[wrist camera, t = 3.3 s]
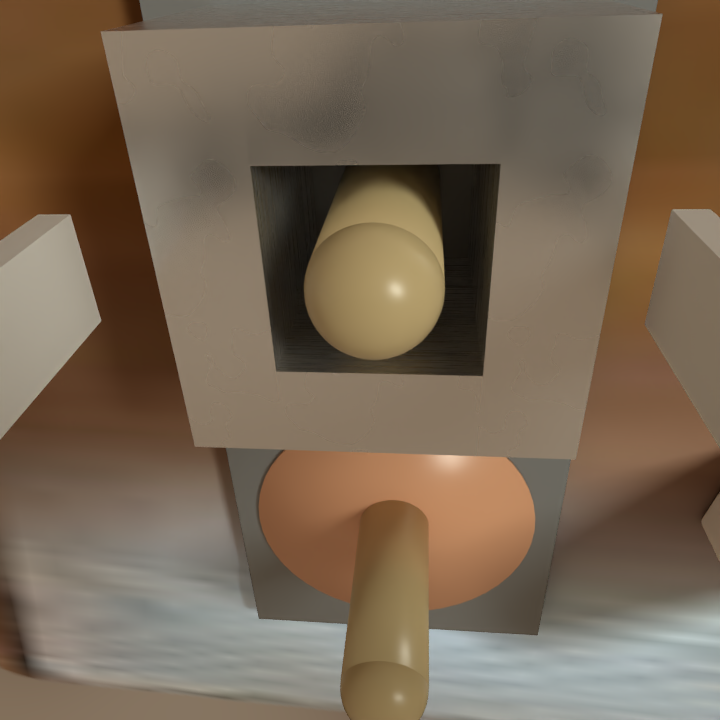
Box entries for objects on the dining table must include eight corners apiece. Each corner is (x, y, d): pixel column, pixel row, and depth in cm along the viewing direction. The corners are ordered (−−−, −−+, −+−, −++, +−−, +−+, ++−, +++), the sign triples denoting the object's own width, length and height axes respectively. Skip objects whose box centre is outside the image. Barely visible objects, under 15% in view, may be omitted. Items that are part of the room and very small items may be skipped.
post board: (134, -100, 17) (-142, -148, 9) (669, -128, 16) (934, -215, 8) (263, 601, 33) (207, 819, 25) (534, 617, 32) (571, 852, 24)
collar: (209, 5, 18) (100, 31, 12) (580, -8, 17) (662, 13, 11) (254, 320, 23) (195, 446, 17) (536, 324, 22) (575, 459, 16)
